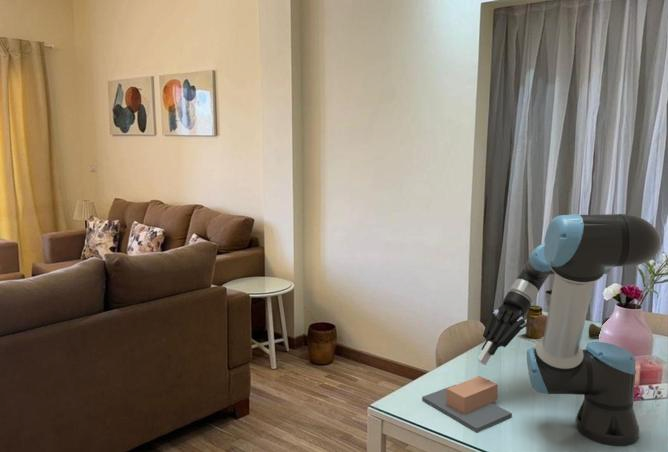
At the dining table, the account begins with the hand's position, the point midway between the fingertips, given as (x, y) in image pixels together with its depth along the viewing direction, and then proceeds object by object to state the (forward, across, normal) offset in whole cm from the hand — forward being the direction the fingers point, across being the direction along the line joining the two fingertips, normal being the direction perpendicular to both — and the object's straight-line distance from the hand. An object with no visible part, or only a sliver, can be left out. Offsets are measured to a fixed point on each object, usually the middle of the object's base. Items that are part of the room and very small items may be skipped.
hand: (481, 362), depth 161 cm
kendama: (-46, +9, -65) cm, 80 cm away
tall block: (+4, 0, -9) cm, 10 cm away
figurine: (-25, +13, -43) cm, 51 cm away
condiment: (-30, +25, -49) cm, 62 cm away
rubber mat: (+14, 0, -5) cm, 14 cm away
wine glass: (-41, +26, -59) cm, 76 cm away
